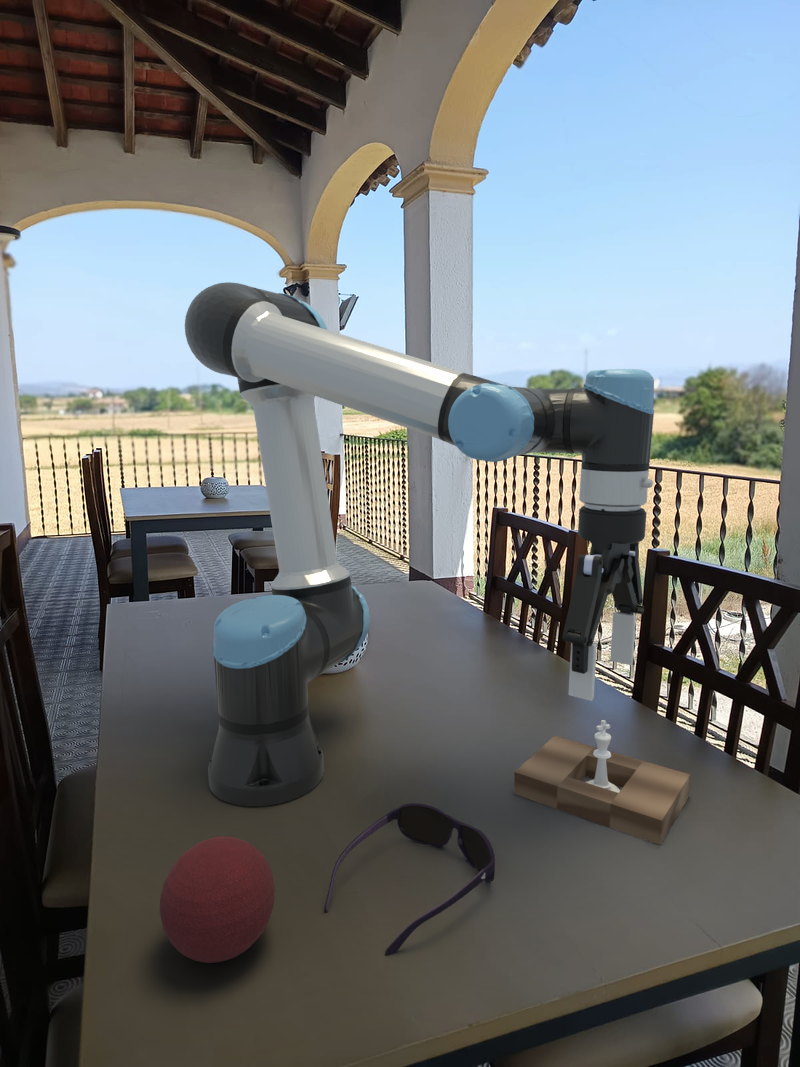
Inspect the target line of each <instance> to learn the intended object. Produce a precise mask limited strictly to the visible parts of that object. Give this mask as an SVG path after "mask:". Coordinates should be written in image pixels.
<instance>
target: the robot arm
mask: <svg viewBox="0 0 800 1067" xmlns="http://www.w3.org/2000/svg"><path fill="white" fill-rule="evenodd" d="M184 318H185V319H184V333H185V334H184V335H185V338H186V342H187V345H188V347H189V349H190V352H191V353H192V354H193V355H194V357H195V358H196V359H197V361H199V362H200V363H201V364H202V365H203V366H204V367H206V368H208V369H209V370H211V371H212V372H215V373H218V374H221V375H226V376H231V377H234V378H237V384H238V390H239V396H240V397H241V398H242V399H243V400H245V401H246V402H247V403H248V404H250V406H251V407H252V408H253V414H254V420H255V427H256V433H257V441H258V446H259V451H260V457H261V458H260V459H261V464H262V471H263V477H264V483H265V484H264V485H265V489H266V494H267V495H266V496H267V504H268V508H269V513H270V514H269V516H270V520H271V521H270V522H271V526H272V527H271V528H272V535H273V539H274V547H275V552H276V557H277V558H276V560H277V564H278V565H277V566H278V574H277V575H276V576H275V578H274V580H273V581H272V582H271V584H270V588H271V594H269V595H259V596H257V597H255V598H246V599H243V600H241V601H238V602H235V603H233V604H232V605H229V606H228V607H226V608H225V609H224V610H222V611H221V612H220V613H219V615H218V616H217V618H216V619H215V622H214V625H213V642H212V655H213V659H214V674H215V688H216V697H217V698H216V699H217V712H218V731H217V734H216V738H215V743H214V746H213V751H212V756H211V757H210V759H209V762H208V767H207V775H208V786H209V790H210V791H211V792H212V794H213V796H215V797H216V798H218V799H219V800H222V801H224V802H226V803H229V804H232V805H236V806H244V807H245V806H246V807H262V806H263V807H264V806H265V807H267V806H273V805H277V804H282V803H286V802H290V801H293V800H295V799H298V798H300V797H302V796H304V795H306V794H307V793H309V792H310V791H312V790H313V789H314V788H316V786H318V785H319V783H320V782H321V781H320V780H322V779H323V777H324V774H323V773H324V772H325V766H324V765H325V763H324V762H325V761H324V753H323V750H322V747H321V745H320V744H319V740H318V738H317V735H316V732H315V729H314V727H313V725H312V722H311V719H310V715H309V714H310V713H309V692H308V688H309V687H308V684H309V682H311V681H312V680H314V679H316V678H317V677H319V676H320V675H322V674H324V673H325V672H327V671H329V670H330V669H332V668H333V667H335V666H337V665H339V664H341V663H343V662H345V661H346V660H347V659H349V658H350V657H351V656H352V655H353V654H354V653H355V652H356V651H357V650H358V649H359V648H360V647H362V645H363V643H364V642H365V641H366V640H365V639H366V638H367V636H368V633H369V630H370V624H371V614H370V609H369V605H368V602H367V600H366V598H365V597H364V595H363V594H362V593H361V592H359V591H358V588H357V587H356V586H355V585H353V584H352V580H351V573H350V571H349V570H348V569H346V568H345V567H344V566H342V565H341V564H340V562H339V561H338V556H337V549H336V548H337V547H336V543H335V537H334V528H333V522H332V515H331V510H330V509H331V508H330V503H329V495H328V489H327V488H328V487H327V483H326V482H327V481H326V476H325V475H326V474H325V468H324V462H323V455H322V449H321V440H320V437H319V436H320V435H319V427H318V422H317V421H318V420H317V415H316V414H317V413H316V408H315V401H314V400H315V397H317V398H320V399H324V400H326V401H329V402H332V403H334V404H337V405H339V406H344V407H346V408H348V409H351V410H355V411H357V412H361V413H363V414H366V415H369V416H371V417H373V418H376V419H377V418H378V419H380V420H383V421H386V422H389V423H392V424H394V425H396V426H397V425H398V426H400V427H404V428H406V429H409V430H412V431H415V432H418V433H420V434H424V435H427V436H429V437H433V438H435V439H438V440H441V441H443V442H445V443H448V444H449V445H452V446H455V447H456V448H457V449H458V450H459V451H460V452H461V453H463V454H464V455H465V456H466V457H468V458H470V459H474V460H477V461H484V462H489V463H496V462H501V461H502V462H503V461H505V460H508V459H511V458H514V457H517V456H522V455H526V454H532V453H534V454H535V453H538V454H539V453H544V454H545V453H550V454H551V453H552V454H554V453H557V454H561V453H562V454H564V453H567V454H580V455H581V464H580V478H579V479H580V483H579V494H578V495H579V497H578V500H579V501H580V502H581V503H583V505H582V506H580V508H579V511H578V524H577V526H578V528H577V529H578V530H577V535H578V537H579V538H581V539H582V540H584V541H588V542H589V543H591V546H590V551H589V554H583V553H580V554H579V555H578V557H577V565H576V575H575V580H574V583H573V588H572V593H571V598H570V602H569V606H568V611H567V615H566V619H565V622H564V623H565V624H564V626H563V630H562V637H561V639H562V641H563V642H567V643H570V658H569V677H568V678H569V679H568V696H570V697H574V698H579V699H582V700H586V701H590V702H592V701H593V700H594V699H595V683H596V682H595V680H596V668H597V667H596V665H597V664H596V662H597V647H598V646H597V644H598V643H594V641H595V638H596V634H597V631H598V628H599V624H600V621H601V617H602V615H603V613H604V609H605V605H606V602H607V599H608V596H609V595H611V594H612V597H613V598H612V599H613V602H614V606H615V608H616V611H613V613H612V625H611V627H612V629H611V643H610V657H609V658H610V659H609V661H610V662H614V663H620V664H622V665H623V664H624V665H628V666H632V665H633V664H634V655H635V654H634V653H635V639H636V638H635V636H636V624H637V614H639V615H643V614H644V611H645V606H644V605H642V604H643V603H644V596H643V588H642V579H641V577H642V576H641V570H640V569H641V568H640V567H641V566H640V560H639V547H640V546H639V545H640V542H642V541H644V539H645V536H646V526H647V525H646V524H647V511H646V509H645V508H643V507H642V506H644V505H646V503H647V502H648V491H649V489H648V488H652V487H653V486H654V482H653V480H652V479H650V478H649V474H650V473H649V472H650V464H651V463H650V462H651V461H650V460H651V450H652V439H653V438H652V437H653V428H654V427H653V426H654V417H655V416H654V415H655V410H654V409H655V408H654V402H655V401H654V400H655V398H654V397H655V393H654V392H655V380H654V377H653V376H652V373H650V372H649V371H646V370H644V369H633V368H632V369H631V368H622V369H621V368H620V369H619V368H618V369H617V368H616V369H613V368H612V369H610V368H609V369H595V370H590V371H589V372H588V373H587V374H586V377H585V380H584V381H585V382H584V383H583V387H577V388H574V387H573V388H531V387H529V388H528V387H520V386H519V387H518V386H511V385H506V384H503V383H500V382H496V381H493V380H490V379H486V378H483V377H481V376H477V375H474V374H469V373H466V372H463V371H460V370H457V369H454V368H450V367H447V366H444V365H441V364H438V363H435V362H432V361H428V360H425V359H422V358H419V357H416V356H412V355H408V354H406V353H402V352H399V351H397V350H393V349H389V348H386V347H383V346H380V345H378V344H377V345H376V344H374V343H370V342H367V341H365V340H361V339H357V338H355V337H351V336H348V335H345V334H342V333H338V332H335V331H332V330H329V329H328V328H327V324H326V323H325V320H324V319H323V317H322V316H321V314H320V313H319V312H318V311H317V310H316V309H315V308H314V307H313V306H311V305H310V304H309V303H307V302H305V301H303V300H301V299H299V298H297V297H295V296H293V295H290V294H287V293H283V292H282V293H281V292H279V293H277V292H274V291H270V290H266V289H261V288H258V287H254V286H249V285H247V284H243V283H239V282H227V281H226V282H220V283H215V284H213V285H210V286H208V287H206V288H204V289H202V290H201V291H200V292H199V293H198V294H197V295H196V296H194V298H193V300H192V301H191V302H190V304H189V307H188V309H187V311H186V313H185V317H184ZM322 776H323V777H322ZM321 778H322V779H321ZM319 781H320V782H319ZM308 791H309V792H308Z"/></svg>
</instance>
